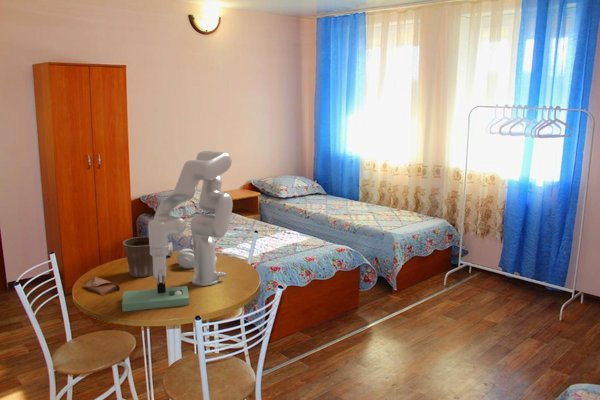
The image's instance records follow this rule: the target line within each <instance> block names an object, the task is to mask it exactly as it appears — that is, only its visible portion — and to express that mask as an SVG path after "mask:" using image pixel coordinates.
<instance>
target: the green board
mask: <svg viewBox="0 0 600 400" xmlns="http://www.w3.org/2000/svg"><path fill="white" fill-rule="evenodd" d="M165 289H166V292H165V293H158V290H157V288H153V289H151V288H150V289H141V290H139V289H138V290H131V291H130V290H129V291H123V294H122V302H121V309H122V310H121V311H122V312H123V313H124V312H131V311H142V310H151V309H161V308H170V307H171V308H172V307H179V306H190V295H189V291H188V285H187V286H186V285H183V286H175V287H174V286H173V287H165ZM176 291H181V292H182V294H183V295H174V293H175V292H176Z"/></svg>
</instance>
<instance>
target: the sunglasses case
mask: <svg viewBox="0 0 600 400" xmlns="http://www.w3.org/2000/svg"><path fill="white" fill-rule="evenodd" d="M81 289H86V290H88V291H91V292H93V293H96V294H98V295H100V296H102V297H103V296H104V297H105V296H108V295H111V294H114V293H116V291H117V292H120V286H119V285H118V284H117V283H114V282H111V281H109V280H106V279H104V278H100V277H98V276H95V275H94V276H93V278H92V279H89V281H87V282H86V283H85V284H84V285H83V286H81Z"/></svg>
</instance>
